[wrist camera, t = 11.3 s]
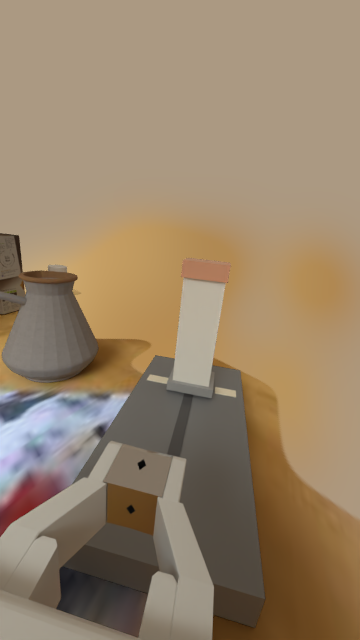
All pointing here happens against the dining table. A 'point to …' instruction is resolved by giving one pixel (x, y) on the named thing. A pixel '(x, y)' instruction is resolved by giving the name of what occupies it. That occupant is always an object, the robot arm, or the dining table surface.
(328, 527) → the dining table surface
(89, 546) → the fader console
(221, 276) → the fader knob
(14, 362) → the coffee pot
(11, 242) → the coffee box
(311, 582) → the dining table surface
